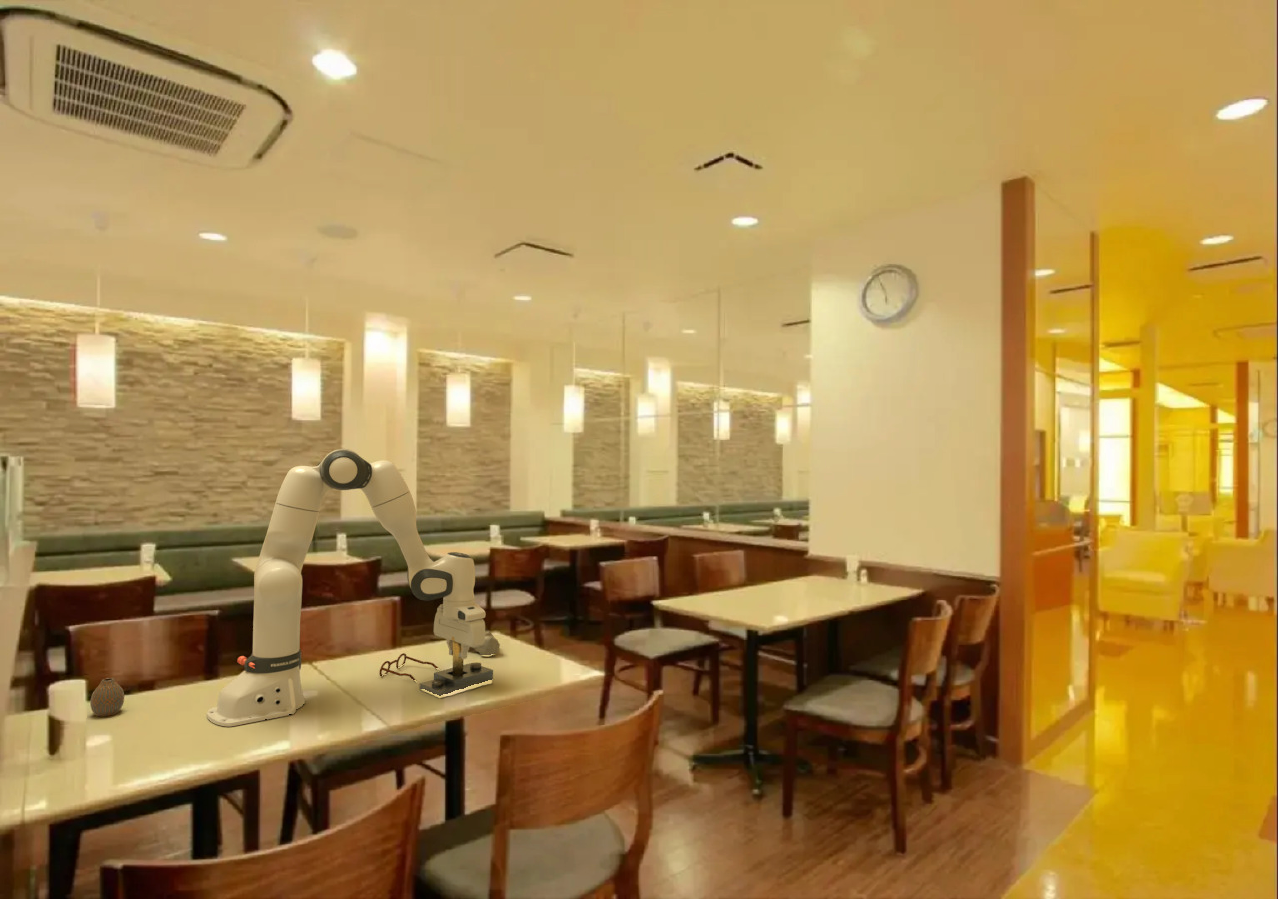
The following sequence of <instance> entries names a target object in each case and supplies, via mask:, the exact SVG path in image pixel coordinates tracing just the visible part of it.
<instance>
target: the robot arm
mask: <svg viewBox="0 0 1278 899" xmlns="http://www.w3.org/2000/svg"><path fill="white" fill-rule="evenodd" d="M333 489H334V490H339V491H350V490H358V489H359V490H361V491H362V492H363V493H364V495H365V496H366V499H367V501H368V503H369V505H370V507H371V510H372V512H373V514H374V516H375V517H376V519H377V520H378V522H379V523H380V524H381V526H382V528H383V529H385V530H386V532H389V533H390V534H391V535H392V537H394V539H395V540H396V542H397V544H398V546H399V548H400V550H401V553H402V555H403V557H404V560H405V562H406V566H407V577H406V579H407V583H408V585H409V587H410V589H411V592H412V594H413V596H415V597H416V598H417V599H418V600H421V601H426V602H428V601H434V600H438V599H442V600H443V601H442V604H440V605H439V606H438V607H437V609H436V613H435V616H434V622H433V634H434V636H435V637H439V638H441V639H445V640H446V645H447V647H448V655H449V656H452V657H453V642H452V641H451V639H452V637H453V638H454V640H455V642H457V643H460V644H461V647H462V651H461V652H459V658H461V659H463V660H466V659H467V658H468V652H469V651H470V650H469V648H470V647H472V648H475V647H480V646H482V645H483V644H484V642H485V629H486V622H485V620H484V618H486V615H487V614H486V611H485V610H484V608H482V607H481V606H479V604H478V603H477V602H476V601H475V599H476V598H475V594H474V588H475V583H476V570H475V562H474V561H475V560H474V559H473V557H471V556H470V555H468V554H466V553H463V552H459V551H458V552H457V551H456V552H454V551H453V552H452V551H451V552H447V553H446V554H445V555H444V556H442V557H440V558H439V559H437V560H434V559H433V558H432V557H430V555H429V554H428V552H427V550H426V548H425V546H424V544H423V541H422V539H421V536H420V534H419V532H418V528H417V509H416V505H415V502H414V499H413V496H412V495H413V494H412V493H411V491H410V488H409V487H408V485H407V483H406V481H405V479H404V477H403V476H402V474H401V472H400V471H399V469H398V468H397V466H396V464H394V463H393V462H391V461H390V460H382V459H381V460H377V461H376V460H375V461H374V462H373V461H372V462H369V461H367V460H366V459H364V458H363V457H361V456H360V455H359V454H358V453H357V452H355V451H353V450H352V449H349V448H348V449H347V448H338V449H334V450H332V451H330V452H328V453H327V454H326V455H325V456H324V457H323V459H322V460H321V461H320V462H318V464H316V465H315V466H310V465H309V466H308V465H297V466H294V467H292V468H291V469H289V470H288V471H287V474H286V476H285V477H284V479H283V481H282V483H281V486H280V488H279V491H278V493H277V496H276V500H275V503H274V507H273V510H272V513H271V518H270V521H269V525H268V528H267V531H266V535H265V538H264V541H263V544H262V547H261V550H260V553H259V556H258V561H257V563H256V567H255V570H254V573H253V574H254V575H253V576H254V577H253V579H254V580H253V582H254V583H253V586H254V588H253V591H254V592H253V594H254V595H253V621H252V626H253V628H252V630H253V631H252V653H251V654H250V656H248V657H246V656H244V655H241V656H238V658H237V663H238V664H240V665H241V666H244V670H243V671H242V672H240V673H239V674H238V675H237V676H236V677H234V679H232V680H231V681H230V682H229V683H227V684H226V685H225V686H224V687H223V688H222V689H221V691H220V692H219V695H218V701H217V705H216V706H214V707H211V708H209V709H208V710H207V713H206V718H207V719H208V721H210V722H211V723H213V724H214V725H218V726H222V727H235V726H239V725H244V724H250V723H255V722H260V721H266V720H265V719H267V720H271V719H276V718H281V717H286V716H290V715H289V714H292V715H293V714H295V713H296V711H297V710H298V709H300V708H301V707H302V706H304V705H303V704H305V703H306V700H305V696H304V693H303V689H302V682H301V680H302V679H301V672H300V670H301V668H302V650H301V648H300V642H301V641H300V639H301V638H300V637H301V613H302V600H303V599H302V598H303V597H302V596H303V575H302V570H303V566H304V563H305V559H306V557H307V554H308V551H309V548H310V545H311V543H312V541H313V539H314V538H313V537H314V534H315V530H316V527H317V523H318V519H319V515H320V511H321V508H322V505H323V501H324V498H325V496H326V494H327V493H328V492H329V491H330V490H333ZM296 709H297V710H296Z"/></svg>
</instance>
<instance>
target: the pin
mask: <svg viewBox="0 0 1278 899" xmlns="http://www.w3.org/2000/svg"><path fill="white" fill-rule="evenodd" d="M451 641H452V642H453V656H452V668H453V675H454V676H460V675H463V665H464V659H461V658H459V652H461V651H462V647H461V644H460V643H457V642H455V640H454V638H453V637H452V639H451Z"/></svg>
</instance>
